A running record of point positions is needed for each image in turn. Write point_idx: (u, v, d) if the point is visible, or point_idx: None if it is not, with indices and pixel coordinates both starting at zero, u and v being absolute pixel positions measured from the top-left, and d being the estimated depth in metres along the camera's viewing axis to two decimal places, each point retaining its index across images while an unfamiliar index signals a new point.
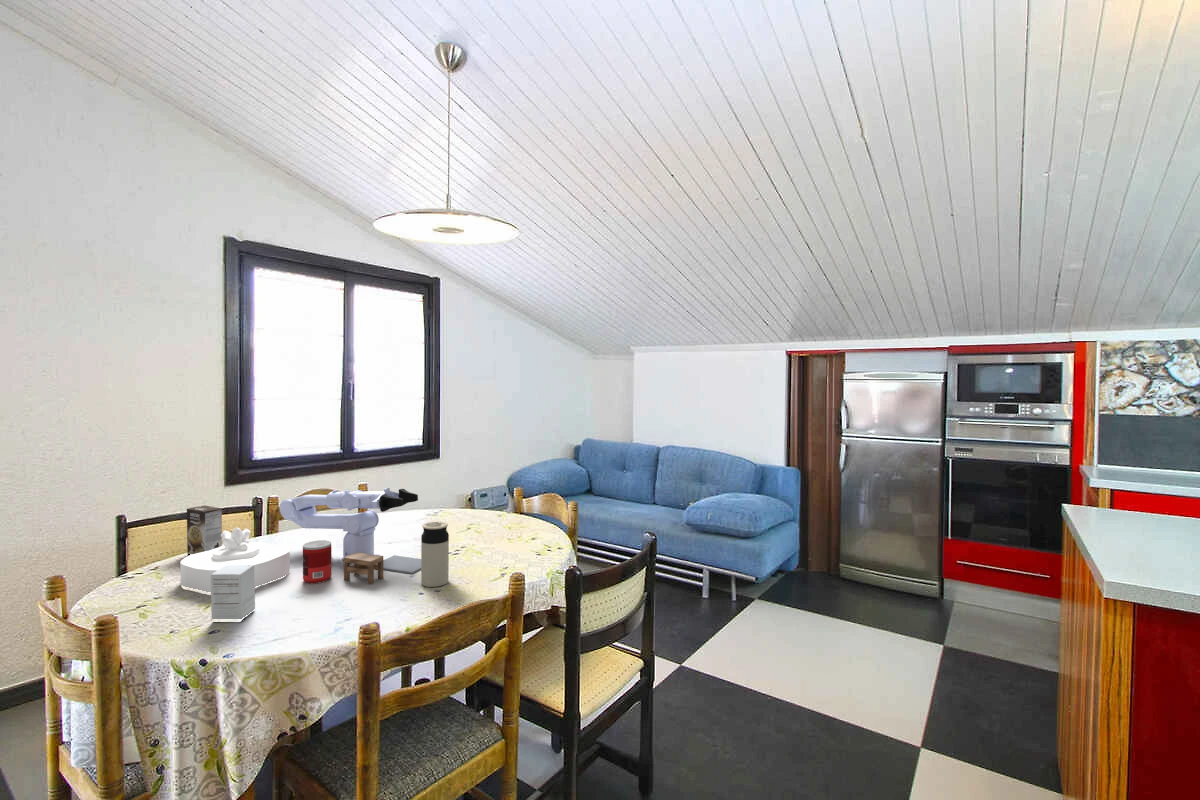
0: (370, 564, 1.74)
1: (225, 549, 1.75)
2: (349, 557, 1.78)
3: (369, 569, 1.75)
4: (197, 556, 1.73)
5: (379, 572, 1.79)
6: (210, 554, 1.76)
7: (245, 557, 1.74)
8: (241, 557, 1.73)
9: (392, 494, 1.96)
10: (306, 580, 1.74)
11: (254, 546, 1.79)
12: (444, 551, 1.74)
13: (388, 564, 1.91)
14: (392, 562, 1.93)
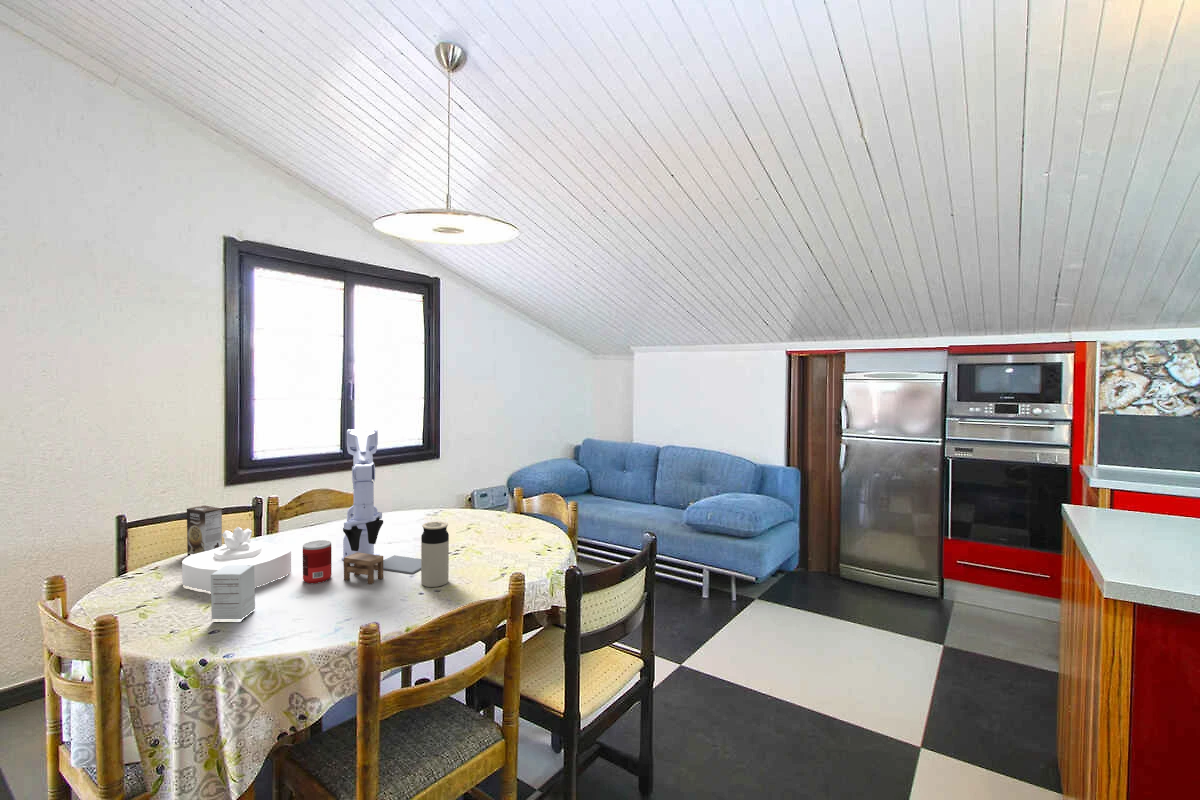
0: (370, 564, 1.74)
1: (227, 549, 1.76)
2: (349, 557, 1.78)
3: (369, 569, 1.75)
4: (199, 556, 1.73)
5: (379, 572, 1.79)
6: (212, 554, 1.76)
7: (247, 557, 1.74)
8: (243, 557, 1.73)
9: None
10: (306, 580, 1.74)
11: (256, 546, 1.80)
12: (444, 551, 1.74)
13: (388, 564, 1.91)
14: (392, 562, 1.93)
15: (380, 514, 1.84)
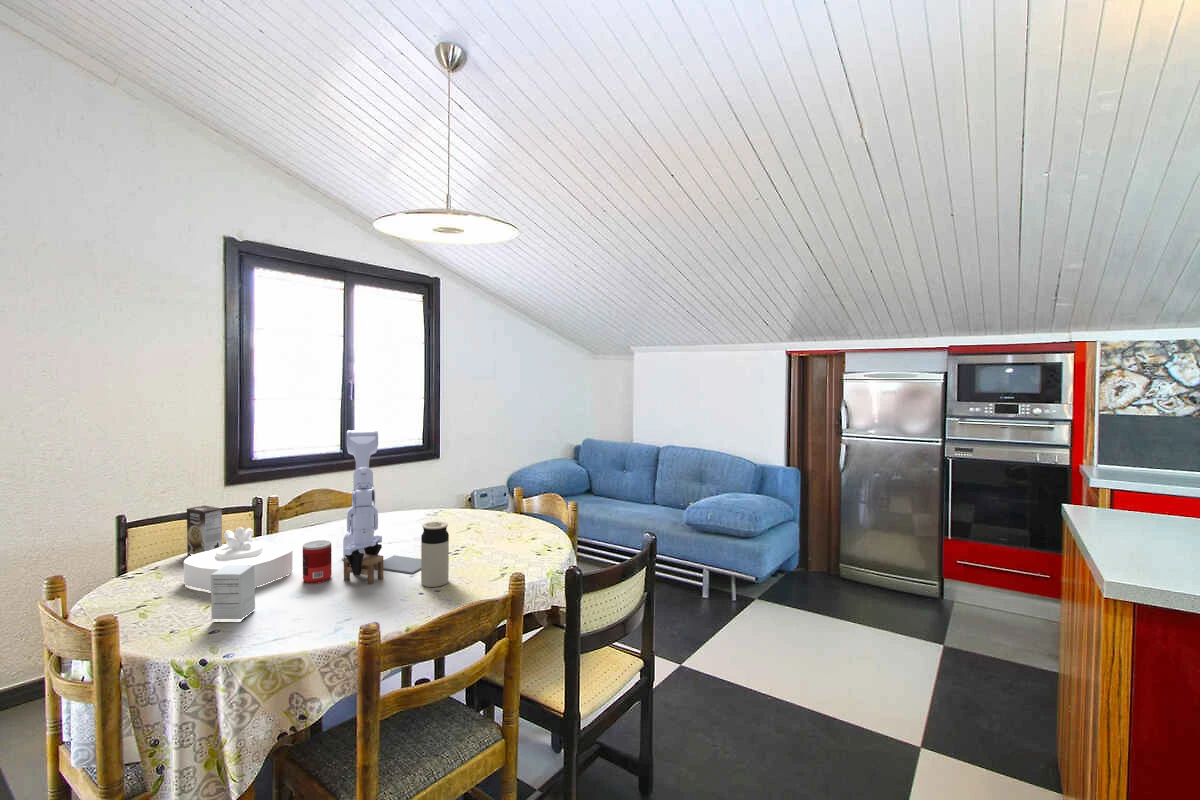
0: (370, 564, 1.74)
1: (228, 548, 1.76)
2: None
3: (369, 569, 1.75)
4: (200, 555, 1.74)
5: (379, 572, 1.79)
6: (213, 553, 1.76)
7: (249, 556, 1.74)
8: (245, 556, 1.74)
9: None
10: (306, 580, 1.74)
11: (257, 545, 1.80)
12: (444, 551, 1.74)
13: (388, 564, 1.91)
14: (392, 562, 1.93)
15: (380, 538, 1.84)
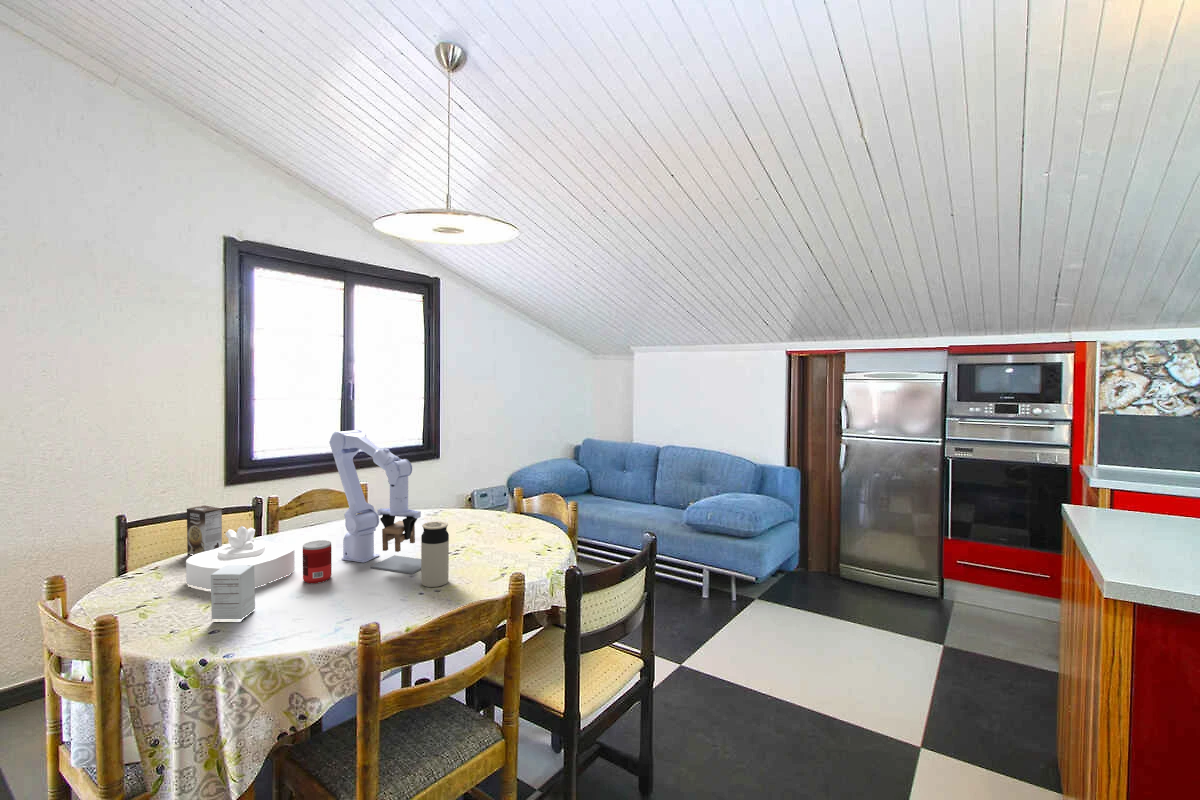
0: None
1: (231, 548, 1.77)
2: (398, 522, 1.94)
3: None
4: (202, 555, 1.74)
5: None
6: (215, 553, 1.77)
7: (251, 555, 1.75)
8: (248, 555, 1.74)
9: None
10: (306, 580, 1.74)
11: (259, 545, 1.81)
12: (444, 551, 1.74)
13: (388, 564, 1.91)
14: (392, 562, 1.93)
15: (414, 514, 1.87)
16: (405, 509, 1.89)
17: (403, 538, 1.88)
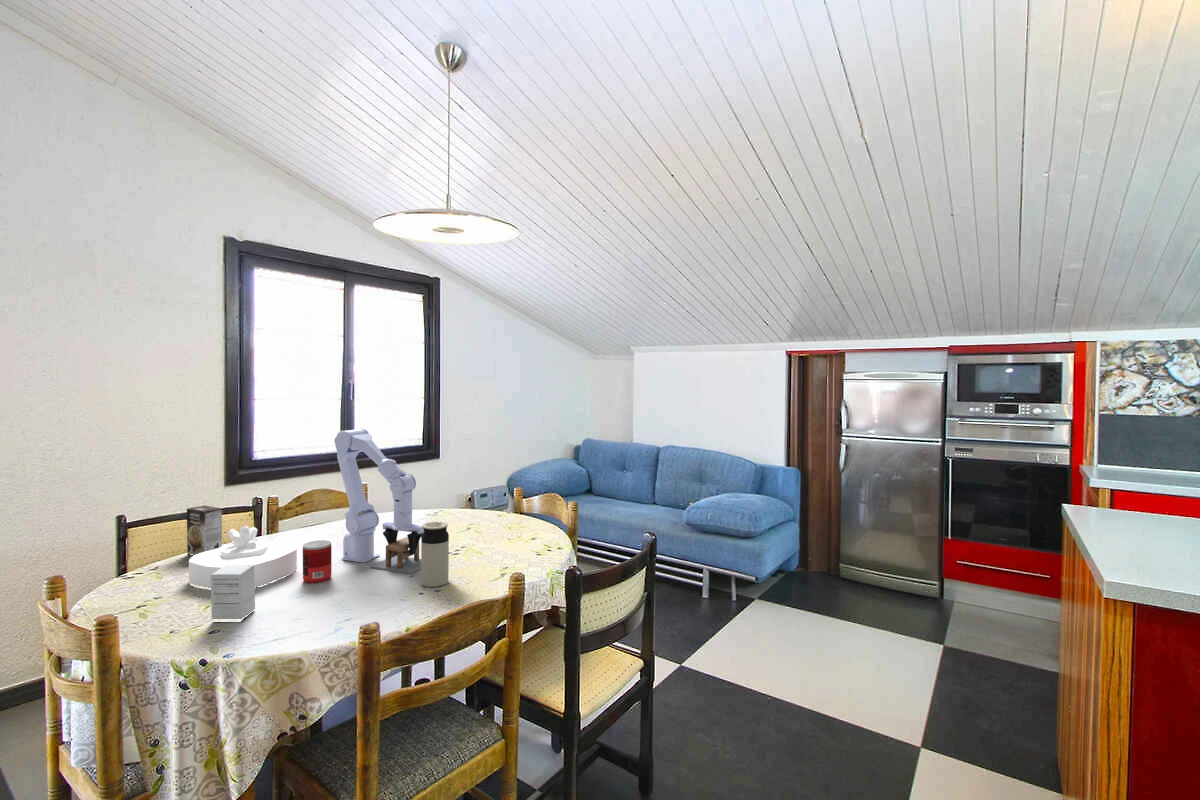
0: None
1: (233, 547, 1.77)
2: (404, 538, 1.96)
3: None
4: (205, 555, 1.75)
5: None
6: (218, 552, 1.77)
7: (255, 555, 1.76)
8: (251, 555, 1.75)
9: None
10: (306, 580, 1.74)
11: (262, 544, 1.82)
12: (444, 551, 1.74)
13: None
14: (392, 562, 1.93)
15: (417, 529, 1.89)
16: (408, 524, 1.90)
17: (406, 555, 1.89)
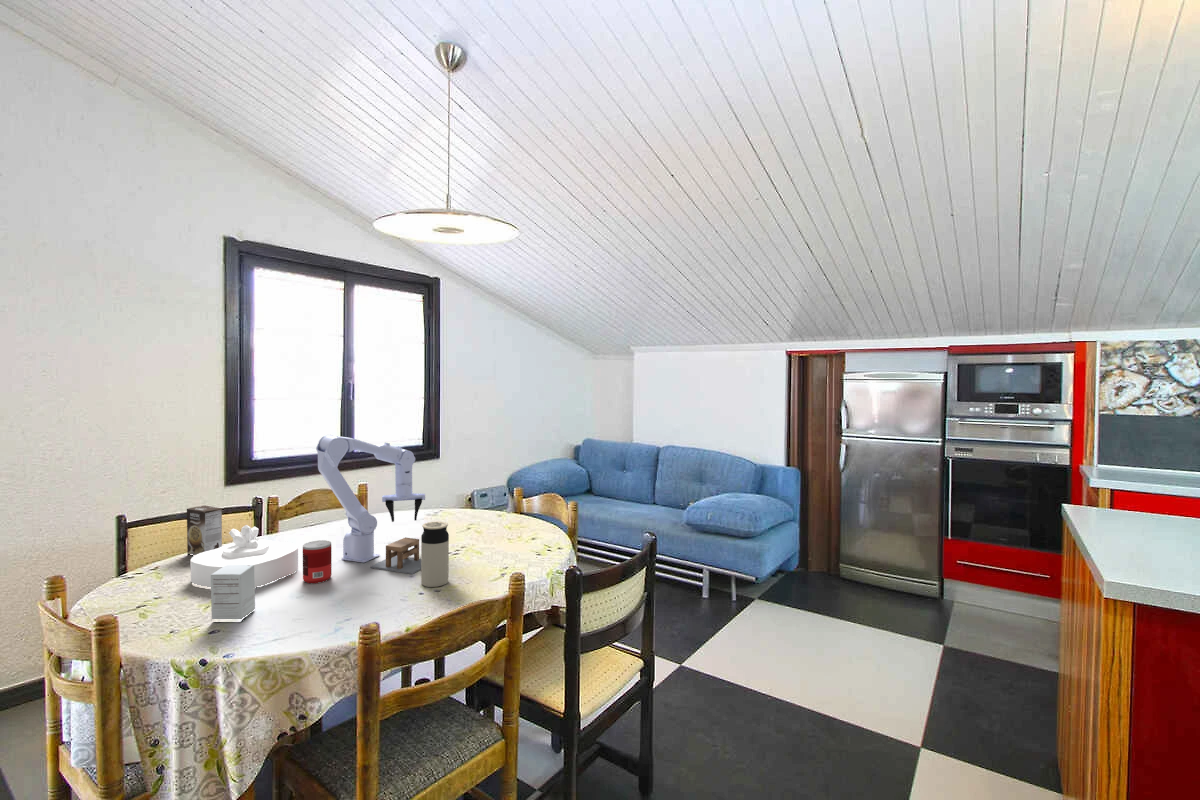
0: None
1: (235, 547, 1.78)
2: (404, 538, 1.96)
3: None
4: (207, 554, 1.75)
5: None
6: (219, 552, 1.78)
7: (256, 554, 1.76)
8: (252, 554, 1.76)
9: None
10: (306, 580, 1.74)
11: (263, 543, 1.82)
12: (444, 551, 1.74)
13: None
14: (392, 562, 1.93)
15: (422, 496, 2.09)
16: (411, 493, 2.08)
17: (406, 555, 1.89)
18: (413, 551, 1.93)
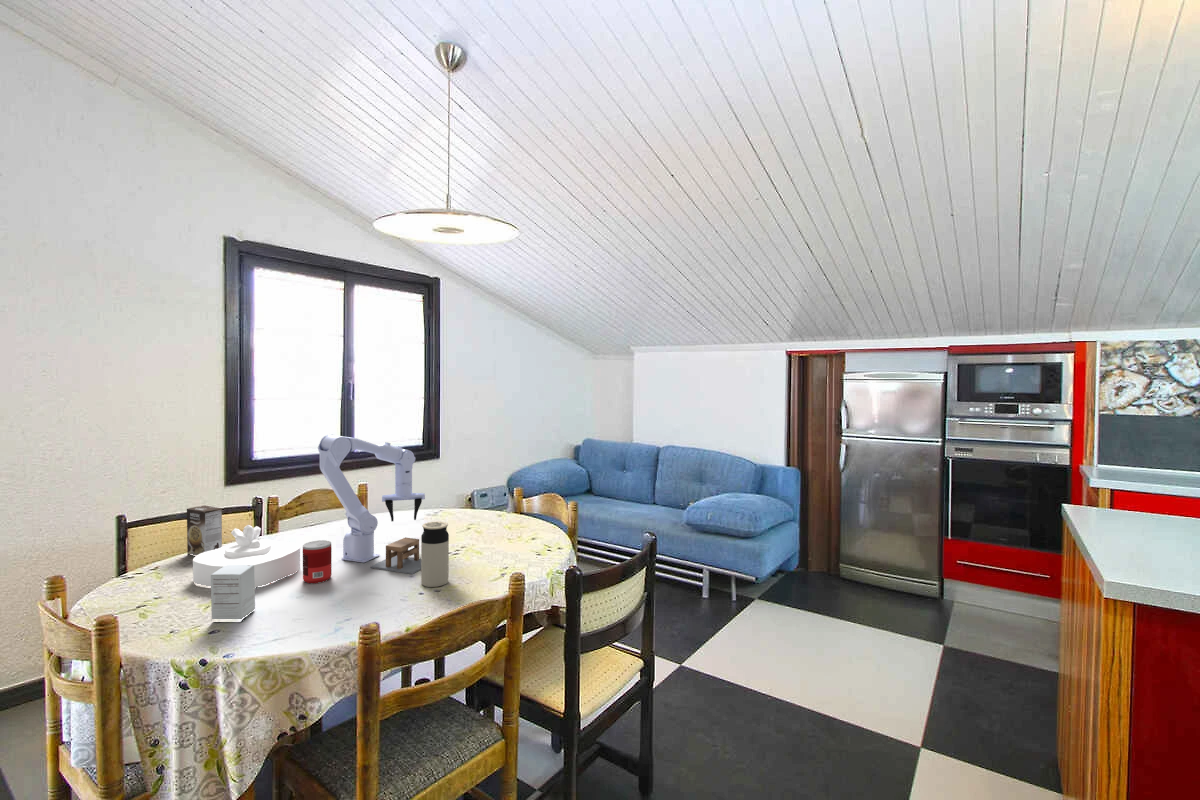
0: None
1: (237, 546, 1.78)
2: (404, 538, 1.96)
3: None
4: (209, 554, 1.75)
5: None
6: (221, 552, 1.78)
7: (259, 554, 1.77)
8: (255, 554, 1.76)
9: None
10: (306, 580, 1.74)
11: (265, 543, 1.83)
12: (444, 551, 1.74)
13: None
14: (392, 562, 1.93)
15: (422, 495, 2.10)
16: (411, 492, 2.09)
17: (406, 555, 1.89)
18: (413, 551, 1.93)
